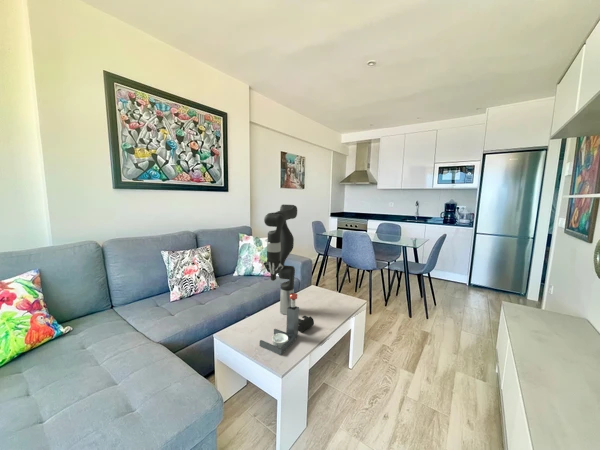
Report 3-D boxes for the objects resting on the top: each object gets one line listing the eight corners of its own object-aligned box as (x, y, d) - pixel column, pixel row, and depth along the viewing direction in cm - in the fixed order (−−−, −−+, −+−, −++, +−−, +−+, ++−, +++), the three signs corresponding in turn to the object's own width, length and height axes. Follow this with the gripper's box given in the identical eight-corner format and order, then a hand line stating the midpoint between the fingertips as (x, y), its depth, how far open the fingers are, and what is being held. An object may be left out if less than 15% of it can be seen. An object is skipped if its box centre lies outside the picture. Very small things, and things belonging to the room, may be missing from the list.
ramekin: (268, 345, 133) (268, 338, 133) (278, 338, 140) (278, 331, 140) (281, 352, 128) (281, 344, 128) (291, 344, 135) (291, 336, 135)
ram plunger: (291, 310, 143) (292, 292, 141) (298, 312, 141) (298, 294, 139) (287, 313, 139) (288, 294, 138) (294, 315, 137) (294, 296, 136)
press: (279, 329, 149) (280, 301, 147) (299, 336, 142) (300, 307, 140) (259, 345, 133) (259, 315, 130) (281, 355, 126) (281, 322, 123)
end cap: (303, 334, 145) (303, 324, 144) (294, 329, 150) (295, 319, 149) (313, 328, 152) (314, 318, 151) (305, 323, 157) (305, 313, 156)
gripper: (287, 250, 133) (286, 280, 136) (268, 246, 140) (268, 275, 142) (279, 253, 127) (278, 284, 129) (260, 249, 133) (259, 279, 136)
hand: (273, 280), depth 136 cm, fingers closed
